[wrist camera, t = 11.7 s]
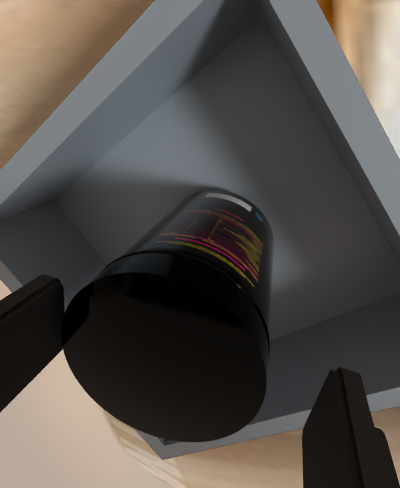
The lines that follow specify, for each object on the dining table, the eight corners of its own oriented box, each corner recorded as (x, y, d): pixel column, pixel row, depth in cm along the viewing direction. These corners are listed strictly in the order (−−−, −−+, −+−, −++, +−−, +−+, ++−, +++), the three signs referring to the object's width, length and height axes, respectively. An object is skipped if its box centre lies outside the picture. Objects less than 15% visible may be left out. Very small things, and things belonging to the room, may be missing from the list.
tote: (433, 284, 18) (515, 379, 11) (192, 373, 25) (162, 459, 19) (268, -15, 14) (257, -113, 8) (46, 191, 22) (-49, 224, 15)
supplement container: (162, 274, 21) (66, 406, 11) (171, 176, 18) (52, 246, 9) (261, 299, 20) (242, 467, 10) (288, 198, 17) (295, 307, 7)
